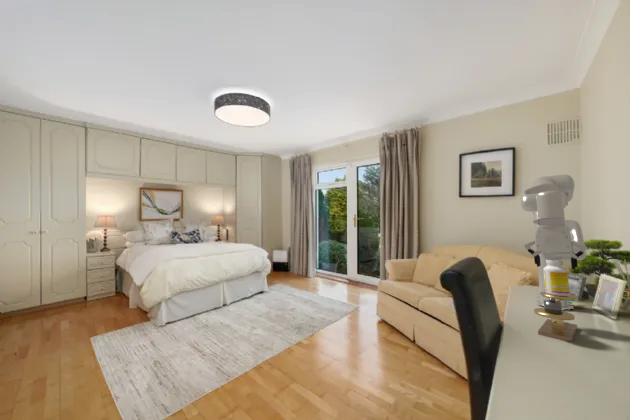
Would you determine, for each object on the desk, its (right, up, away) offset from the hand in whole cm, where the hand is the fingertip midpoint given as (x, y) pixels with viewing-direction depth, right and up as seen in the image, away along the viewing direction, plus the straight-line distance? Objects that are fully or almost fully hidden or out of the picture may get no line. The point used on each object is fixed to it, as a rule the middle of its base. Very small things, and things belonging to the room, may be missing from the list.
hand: (555, 267), depth 94 cm
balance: (-5, -21, -6) cm, 23 cm away
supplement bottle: (0, -10, -1) cm, 10 cm away
